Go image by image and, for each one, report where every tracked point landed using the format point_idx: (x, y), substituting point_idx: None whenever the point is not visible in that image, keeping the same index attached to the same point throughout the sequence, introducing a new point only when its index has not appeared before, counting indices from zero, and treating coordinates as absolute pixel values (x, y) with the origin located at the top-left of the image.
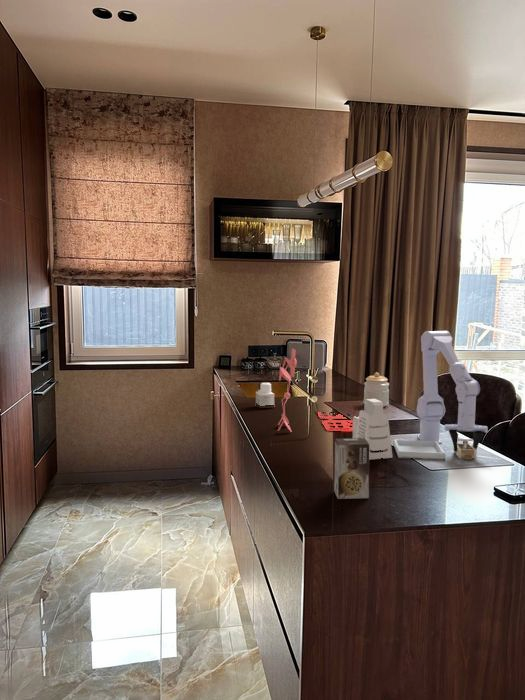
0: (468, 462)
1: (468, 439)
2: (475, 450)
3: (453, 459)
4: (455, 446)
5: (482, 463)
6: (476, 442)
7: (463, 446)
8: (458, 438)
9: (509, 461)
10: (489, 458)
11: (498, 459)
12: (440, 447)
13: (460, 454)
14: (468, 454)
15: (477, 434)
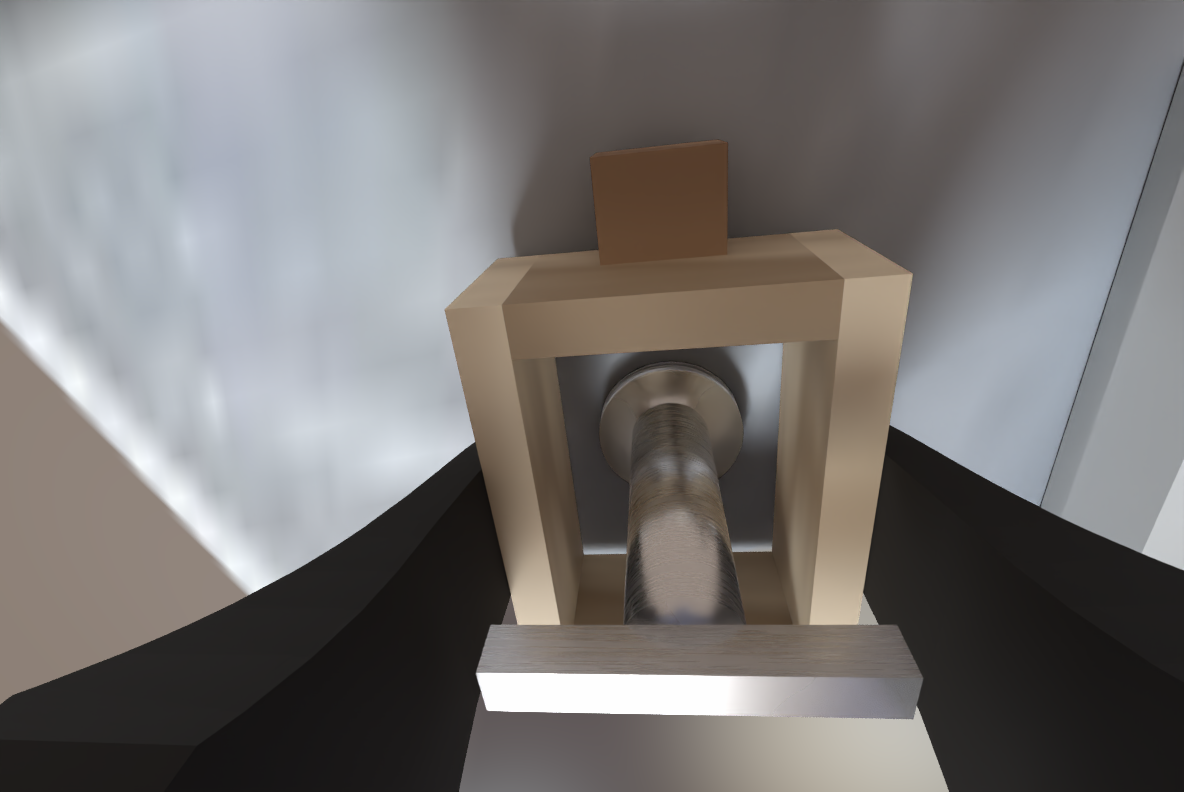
0: (678, 4)
1: (602, 668)
2: (475, 302)
3: (950, 163)
4: (942, 458)
5: (397, 11)
6: (395, 546)
7: (719, 514)
8: (900, 711)
9: (4, 283)
10: (299, 374)
11: (171, 352)
12: (1168, 536)
13: (821, 243)
14: (642, 264)
15: (145, 775)
